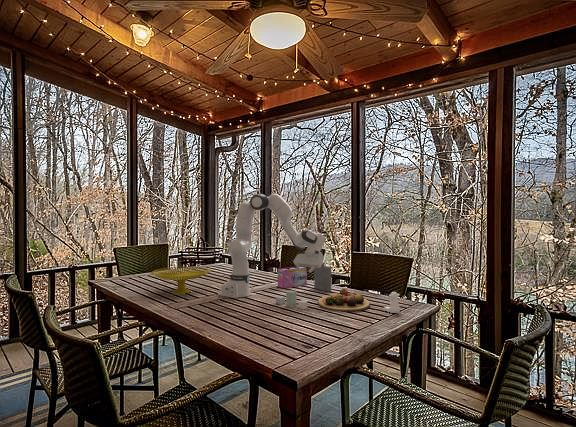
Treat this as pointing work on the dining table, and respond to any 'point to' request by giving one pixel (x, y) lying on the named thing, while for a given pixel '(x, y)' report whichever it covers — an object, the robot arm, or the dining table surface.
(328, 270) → the hip flask
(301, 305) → the cream block
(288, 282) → the gum box
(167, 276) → the cake stand
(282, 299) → the grey block
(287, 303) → the sage-green pillar
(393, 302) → the seated beast figurine
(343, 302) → the wooden plate with food
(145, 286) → the dining table surface
